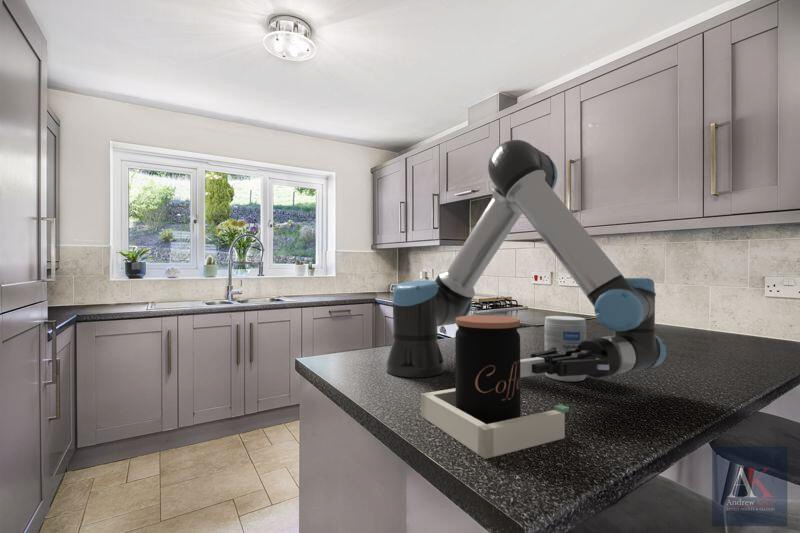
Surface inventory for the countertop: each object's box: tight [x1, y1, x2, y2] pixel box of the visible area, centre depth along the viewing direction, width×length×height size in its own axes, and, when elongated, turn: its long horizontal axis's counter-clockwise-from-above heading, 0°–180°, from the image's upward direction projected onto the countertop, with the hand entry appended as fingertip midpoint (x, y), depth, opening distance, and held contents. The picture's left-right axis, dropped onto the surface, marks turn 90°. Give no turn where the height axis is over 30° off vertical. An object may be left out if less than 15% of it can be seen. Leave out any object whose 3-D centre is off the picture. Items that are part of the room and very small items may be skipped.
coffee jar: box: [454, 314, 522, 424], centre depth 66 cm, size 11×11×18 cm
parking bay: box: [420, 387, 570, 460], centre depth 66 cm, size 18×16×5 cm
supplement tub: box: [544, 315, 587, 383], centre depth 96 cm, size 10×10×15 cm
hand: (514, 369), depth 68 cm, fingers closed
